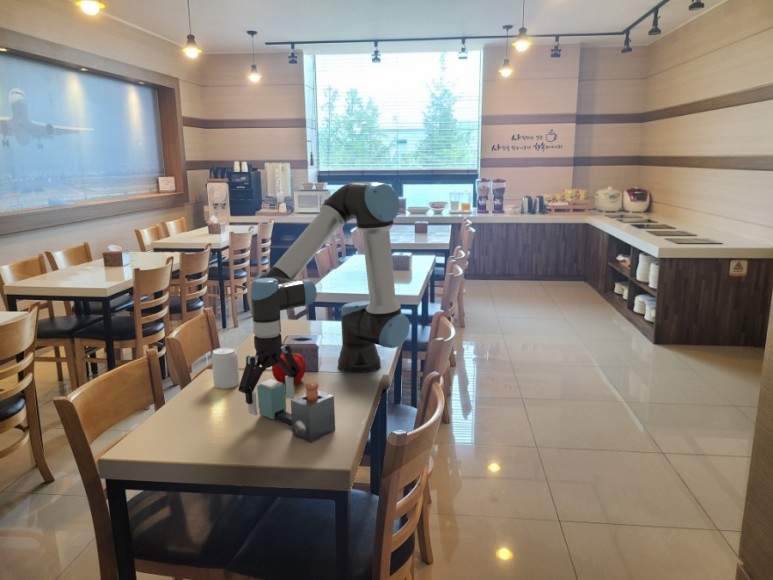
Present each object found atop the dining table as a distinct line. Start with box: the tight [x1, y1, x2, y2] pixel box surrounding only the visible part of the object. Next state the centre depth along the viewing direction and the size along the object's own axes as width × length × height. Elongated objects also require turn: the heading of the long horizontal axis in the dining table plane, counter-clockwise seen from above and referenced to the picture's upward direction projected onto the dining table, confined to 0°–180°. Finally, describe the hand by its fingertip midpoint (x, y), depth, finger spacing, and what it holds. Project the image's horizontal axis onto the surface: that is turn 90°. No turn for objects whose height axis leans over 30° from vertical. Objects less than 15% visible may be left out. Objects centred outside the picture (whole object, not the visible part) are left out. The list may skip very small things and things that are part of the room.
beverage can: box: [211, 346, 241, 390], centre depth 183 cm, size 8×8×12 cm
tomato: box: [271, 352, 306, 385], centre depth 186 cm, size 11×13×10 cm
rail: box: [274, 410, 292, 427], centre depth 157 cm, size 2×17×2 cm, turn 51°
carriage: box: [256, 378, 287, 420], centre depth 160 cm, size 5×6×9 cm
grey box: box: [290, 389, 336, 444], centre depth 149 cm, size 9×7×10 cm
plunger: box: [304, 382, 319, 402], centre depth 148 cm, size 3×3×6 cm
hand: (272, 405), depth 160 cm, fingers open, 13 cm apart
